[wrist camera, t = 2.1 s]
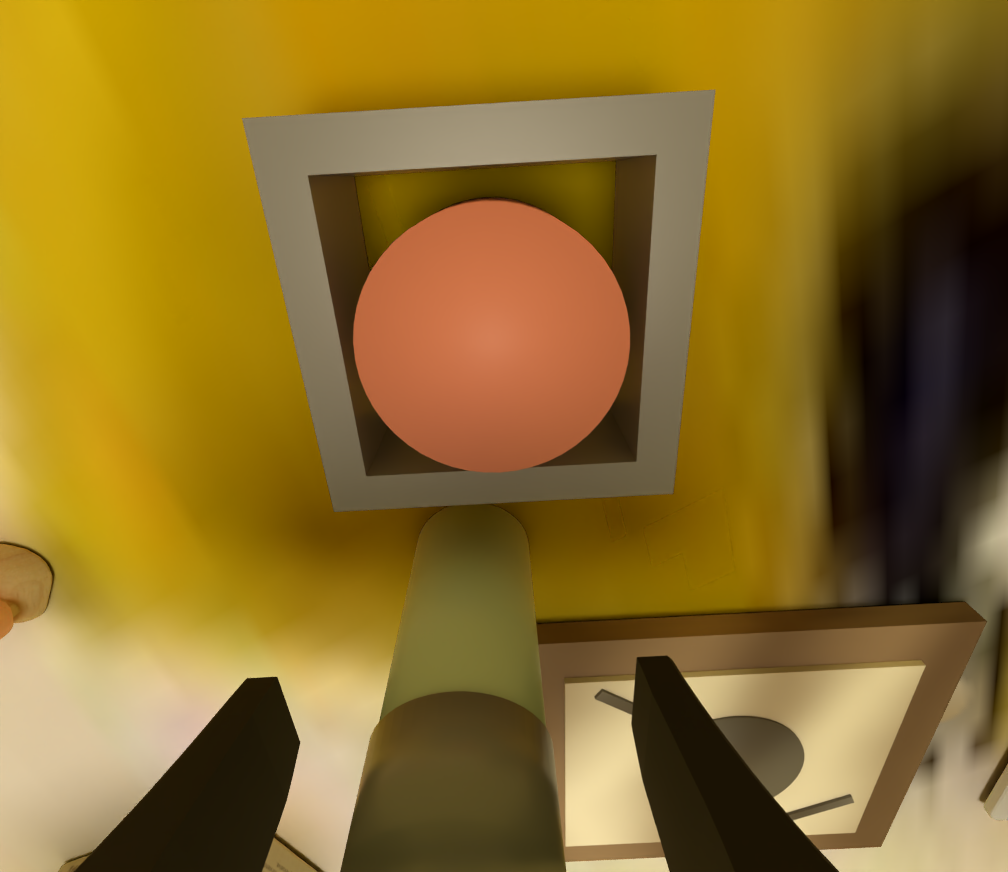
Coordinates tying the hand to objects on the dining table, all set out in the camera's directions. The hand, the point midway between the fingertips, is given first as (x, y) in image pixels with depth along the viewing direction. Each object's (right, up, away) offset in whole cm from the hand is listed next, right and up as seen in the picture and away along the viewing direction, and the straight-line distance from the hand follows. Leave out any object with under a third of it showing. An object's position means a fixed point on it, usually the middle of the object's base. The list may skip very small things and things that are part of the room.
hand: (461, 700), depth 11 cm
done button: (+1, +8, 0) cm, 8 cm away
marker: (0, +2, +4) cm, 5 cm away
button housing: (+1, +8, +1) cm, 9 cm away
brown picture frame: (+8, -6, +8) cm, 13 cm away
